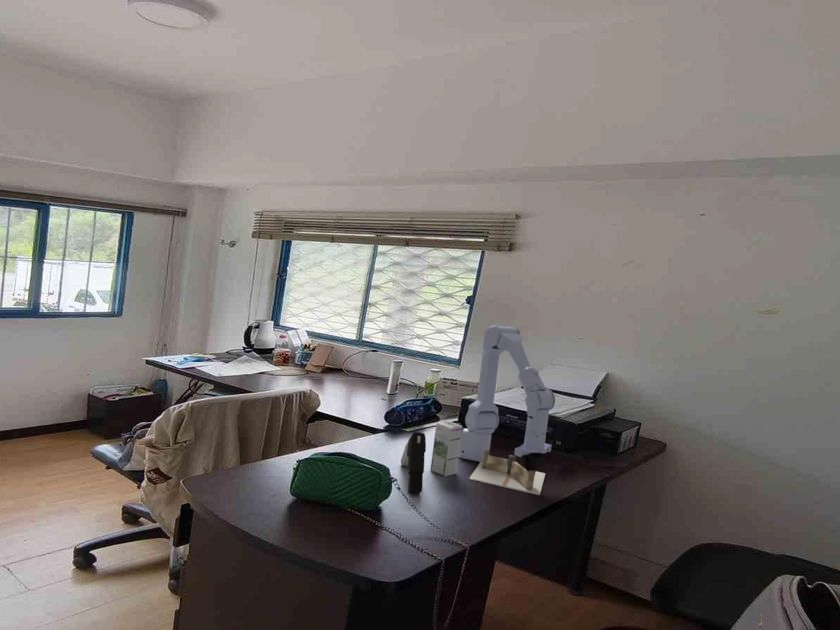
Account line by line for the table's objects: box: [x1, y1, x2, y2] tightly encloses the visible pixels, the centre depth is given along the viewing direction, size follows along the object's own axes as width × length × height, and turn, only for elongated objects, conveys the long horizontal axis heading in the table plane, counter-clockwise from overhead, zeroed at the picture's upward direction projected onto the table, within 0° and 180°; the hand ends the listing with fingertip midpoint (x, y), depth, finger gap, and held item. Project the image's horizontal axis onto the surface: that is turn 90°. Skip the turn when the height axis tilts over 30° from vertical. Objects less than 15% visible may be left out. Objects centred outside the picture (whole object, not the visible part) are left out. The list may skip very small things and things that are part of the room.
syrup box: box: [430, 420, 463, 477], centre depth 167 cm, size 6×6×14 cm
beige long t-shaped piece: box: [510, 460, 535, 490], centre depth 166 cm, size 12×2×5 cm, turn 17°
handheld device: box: [400, 431, 427, 494], centre depth 159 cm, size 4×22×15 cm
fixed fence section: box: [482, 450, 517, 475], centre depth 174 cm, size 10×2×5 cm, turn 73°
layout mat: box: [469, 462, 546, 496], centre depth 172 cm, size 20×20×1 cm
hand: (529, 477), depth 165 cm, fingers closed, pressing on beige long t-shaped piece
